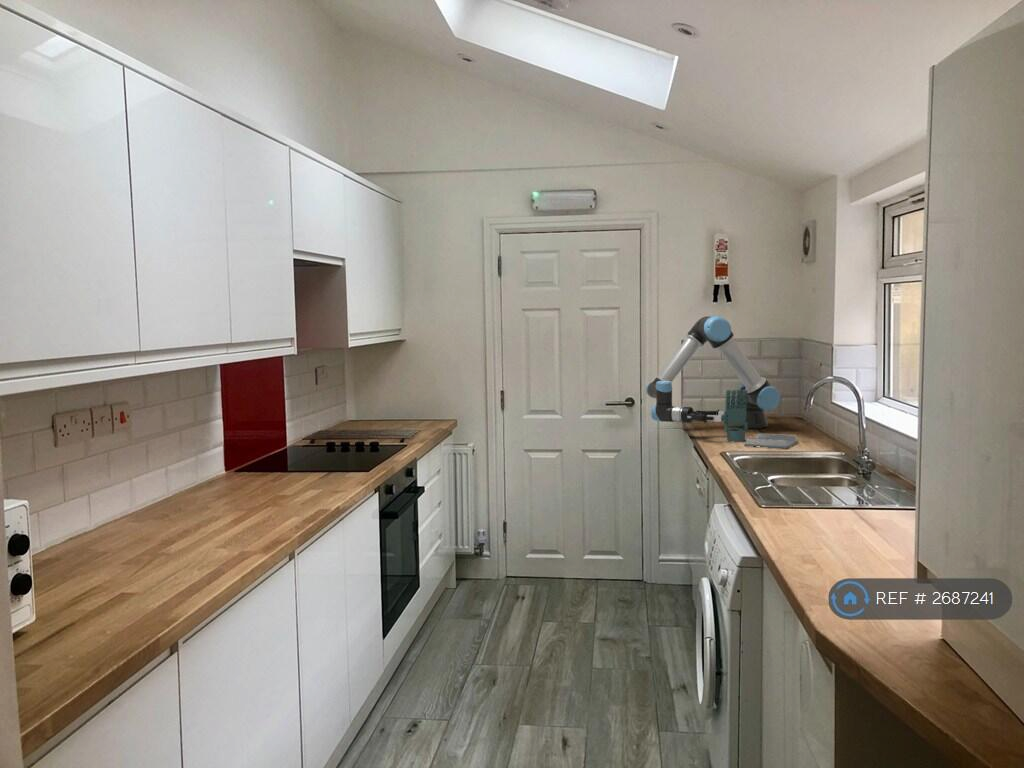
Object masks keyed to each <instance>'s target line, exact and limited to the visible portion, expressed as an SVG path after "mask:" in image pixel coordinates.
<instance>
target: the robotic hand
mask: <svg viewBox="0 0 1024 768" xmlns="http://www.w3.org/2000/svg"><path fill="white" fill-rule="evenodd" d="M740 394H741V389H740V388H737V389H732V390H731V389H726V391H725V399H724V400H725V401H724V403H725V405H724V410H723V412H724V414H723V415H721V422H723V425H724V432H726V441H727V440H728V441H727V442H730V441H734V442H733V443H739V442H740V441H742V442H746V432H747V431H748V428H747V422H745V420H746V415H747V413H746V402H747V401H746V399H747V396H746V395H747V390H743V392H742V394H743V395H742V399H741V395H740ZM741 403H742V404H741ZM737 425H743V428H729V427H730V426H731V427H733V426H734V427H737ZM740 443H741V442H740Z"/></svg>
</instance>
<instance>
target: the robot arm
mask: <svg viewBox="0 0 1024 768" xmlns="http://www.w3.org/2000/svg"><path fill="white" fill-rule="evenodd" d="M734 336H735V334H734V333H733V331H732V327H731V324H730V322H729V321H728V320H727V319H726V318H725V317H721V316H719V315H718V316H717V315H716V316H702V317H701V318H700V319H698V320H697V321H696V323H695V324H694V325H693V326H692V327H691V328H690V330H689V331H688V333H687V334H686V336H685V337H686V339H685V340H684V341H683V342H682V343H681V345H680V346H679V347H678V348H677V350H676V351H675V353H674V354H673V356H672V357H671V358H670V359H668V362H667V363H666V364H665V366H664V367H663V368H662V369H661V371H660V372H659V374H657V376H656V377H655V379H654V380H653V381H651V382H649V383H648V384H647V385H646V386H645V387H646V388H645V391H646V394H647V396H649V397H650V398H652V399H656V400H655V401H656V403H655V405H653V406H652V408H651V411H650V416H651V418H652V420H653V421H655V422H657V421H658V422H663V423H664V422H668V423H670V422H671V423H676V424H679V423H685V424H691V423H692V422H693V421H697V422H703V423H707V422H716V423H717V422H720V423H721V422H722V421H721V415H723V414H724V410H723V411H722V410H721V411H720V409H717V410H695V411H694V408H693V407H691V406H683V405H682V406H679V405H674V406H673V385H672V384H673V383H672V382H673V381H674V380H675V379H676V378H677V376H678V375H679V374H680V372H681V371H682V370H683V368H684V367H685V366H686V365H687V364H688V362H689V361H690V360H691V358H692V357H693V356H694V354H696V352H697V351H698V350H699V348H702V347H703V346H704V345H705V343H707V342H708V343H709V344H710V346H711V347H712V349H714V350H718V352H719V353H720V354H721V355H722V357H723V358H724V359H725V361H726V362H727V363H728V366H730V367H731V370H732V371H733V372H734V373H735V375H736V376H737V378H738V379H739V380H740V381H741V382H740V384H739V389H741V394H740V395H741V399H742V395H743V394H742V392H743V390H747V395H746V396H747V399H746V401H747V402H746V413H747V415H746V420H745V422H747V429H750V428H756V429H764V428H763V427H766V428H768V427H767V426H769V424H768V423H769V422H768V419H767V416H766V413H765V411H770V410H773V409H775V408H776V407H777V406H778V404H779V403H780V399H781V394H780V391H779V390H778V388H777V387H775V386H773V385H771V384H770V382H769V380H767V378H766V377H761V375H760V374H759V373H758V371H757V370H756V369H755V367H754V366H753V364H752V363H751V361H750V360H749V359H748V357H747V356H746V354H745V353H744V352H743V351H742V349H741V348H740V347H739V345H738V344H737V342H736V341H735V340H734ZM741 404H742V403H741ZM736 427H737V428H739V427H741V428H740V429H743V425H737V426H736Z"/></svg>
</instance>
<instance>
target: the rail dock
mask: <svg viewBox="0 0 1024 768" xmlns="http://www.w3.org/2000/svg"><path fill="white" fill-rule="evenodd" d="M756 437H757V438H755V437H754V438H753V437H747V438H746V437H745V443H744V445H743V447H744V446H760V447H768V448H767V449H772V448H782V449H781V450H788V449H790V448H791V447H790V446H792V447H793V446H795V445H797V444H799V440H797V434H796V435H794V434H778V433H763V432H760V433H759V432H757V433H756ZM796 443H797V444H796ZM794 444H795V445H794ZM789 447H790V448H789ZM787 448H788V449H787Z"/></svg>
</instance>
